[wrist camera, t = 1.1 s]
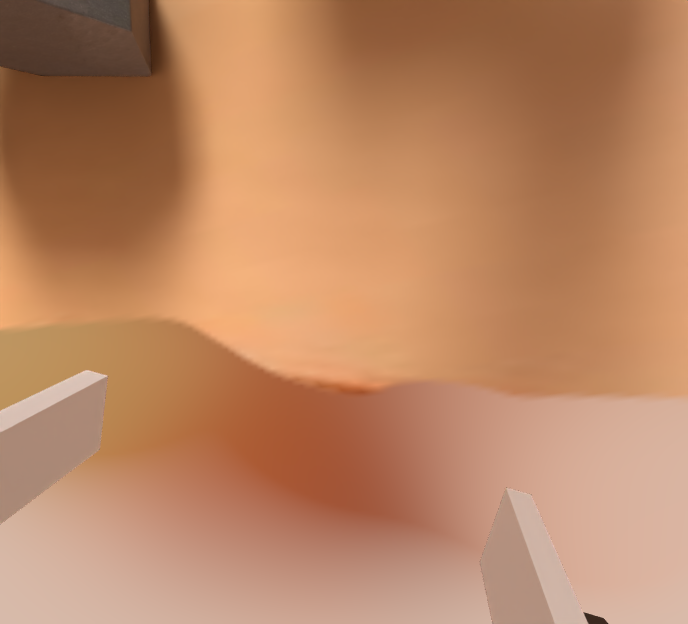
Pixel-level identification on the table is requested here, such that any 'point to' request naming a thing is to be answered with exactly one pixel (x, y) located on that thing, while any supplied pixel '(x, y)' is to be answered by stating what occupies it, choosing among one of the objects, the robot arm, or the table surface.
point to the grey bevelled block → (76, 37)
